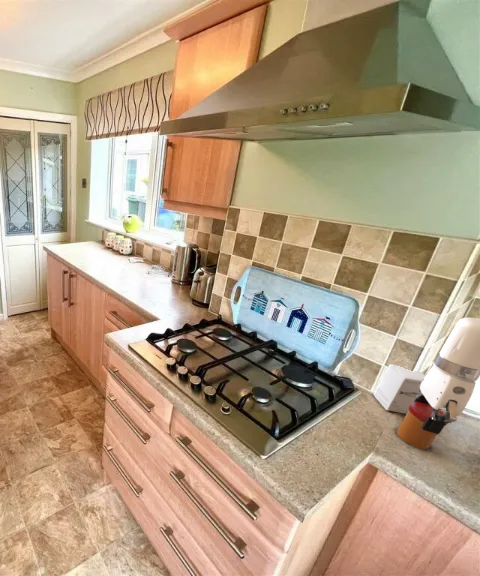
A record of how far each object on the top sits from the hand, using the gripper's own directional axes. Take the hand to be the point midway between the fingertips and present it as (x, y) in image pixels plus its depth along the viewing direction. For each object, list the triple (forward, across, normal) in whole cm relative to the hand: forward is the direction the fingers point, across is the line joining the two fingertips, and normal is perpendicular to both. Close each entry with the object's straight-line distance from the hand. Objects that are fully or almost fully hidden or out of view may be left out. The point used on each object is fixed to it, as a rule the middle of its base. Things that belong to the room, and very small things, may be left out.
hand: (423, 420), depth 82 cm
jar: (+7, 0, 0) cm, 7 cm away
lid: (-3, 0, 0) cm, 3 cm away
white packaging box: (+7, +14, 0) cm, 16 cm away
